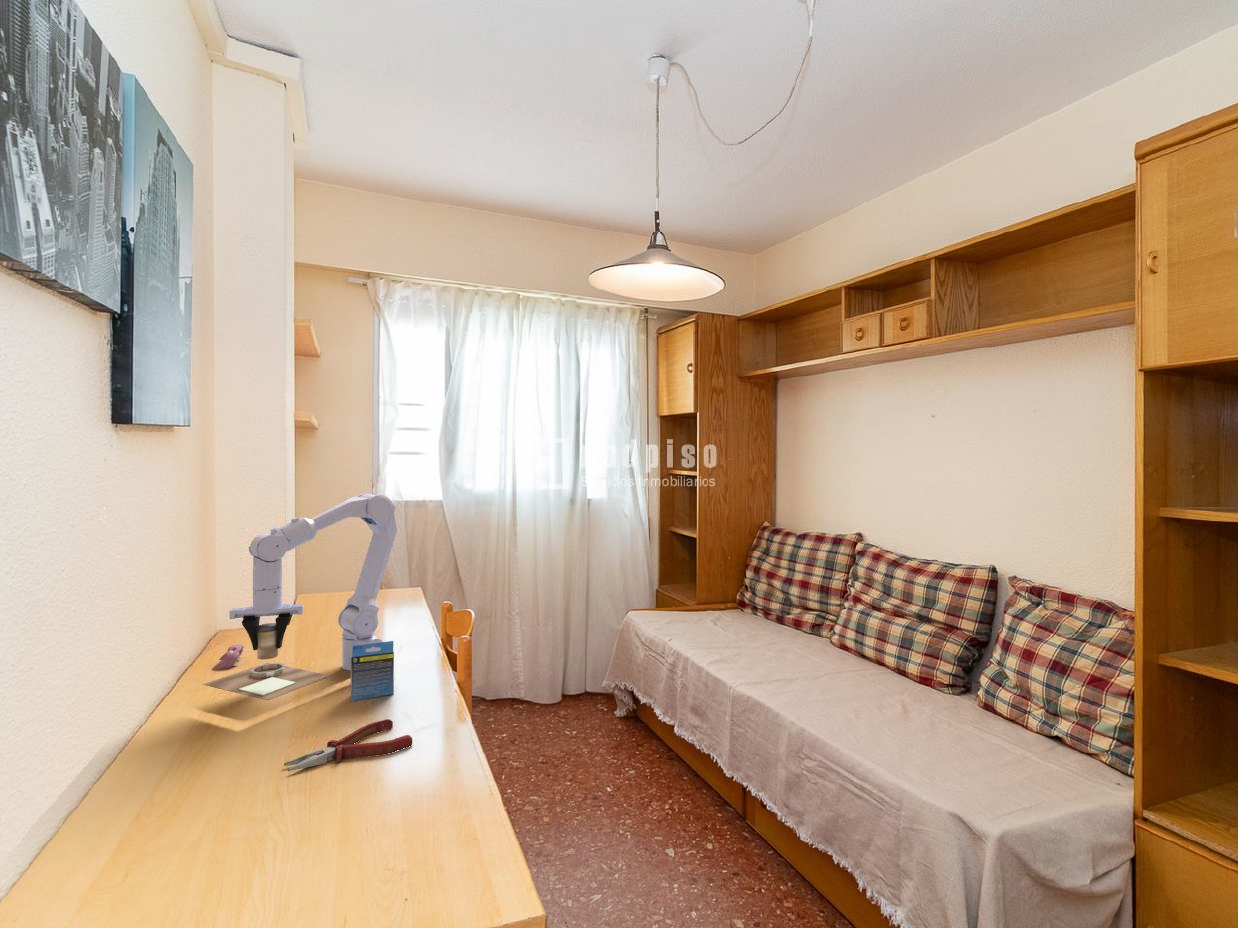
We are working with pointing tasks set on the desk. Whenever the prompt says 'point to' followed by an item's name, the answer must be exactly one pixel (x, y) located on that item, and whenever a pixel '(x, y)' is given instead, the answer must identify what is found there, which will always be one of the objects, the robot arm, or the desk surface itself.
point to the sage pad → (267, 686)
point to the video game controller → (230, 657)
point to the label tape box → (372, 670)
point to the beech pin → (266, 641)
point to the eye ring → (256, 670)
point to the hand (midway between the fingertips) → (267, 648)
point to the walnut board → (245, 678)
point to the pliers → (353, 747)
